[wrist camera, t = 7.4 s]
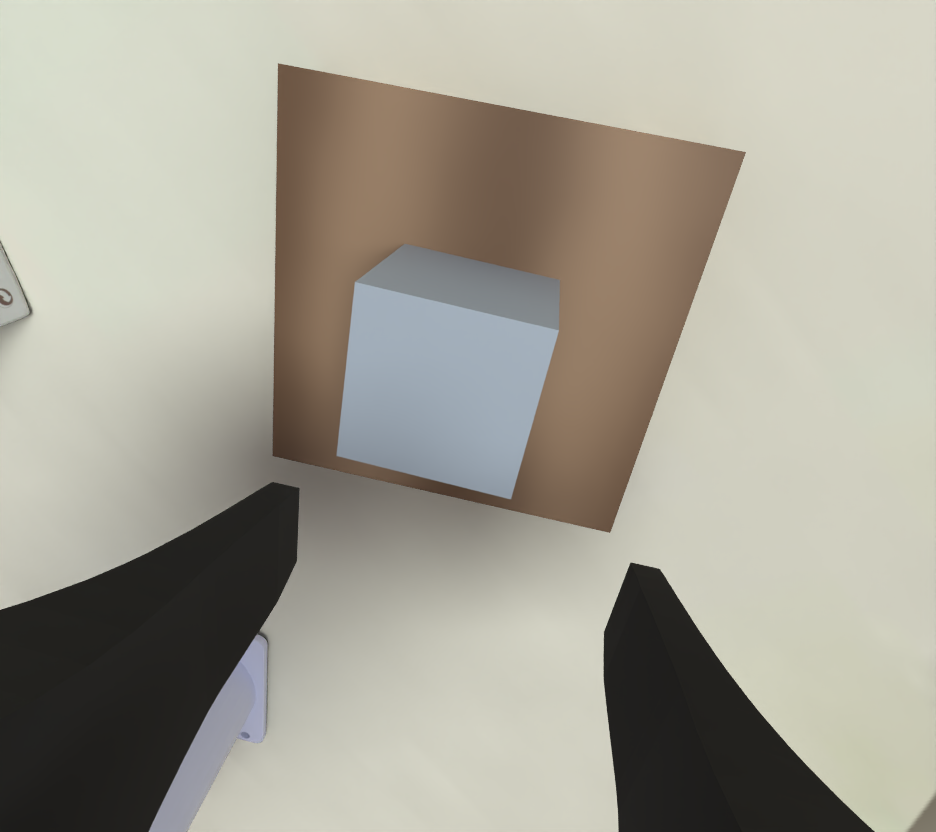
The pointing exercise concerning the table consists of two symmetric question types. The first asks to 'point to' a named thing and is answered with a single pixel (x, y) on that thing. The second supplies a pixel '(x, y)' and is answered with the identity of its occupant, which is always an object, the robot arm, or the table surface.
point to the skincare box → (10, 294)
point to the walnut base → (496, 242)
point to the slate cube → (446, 367)
